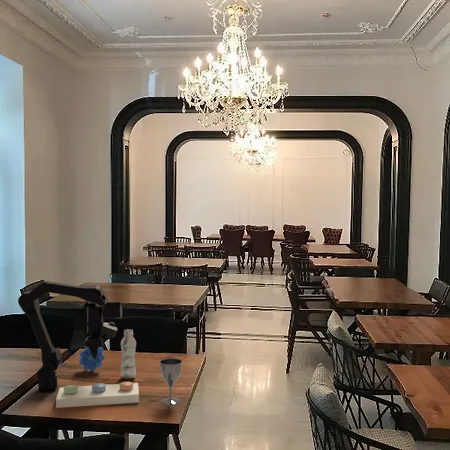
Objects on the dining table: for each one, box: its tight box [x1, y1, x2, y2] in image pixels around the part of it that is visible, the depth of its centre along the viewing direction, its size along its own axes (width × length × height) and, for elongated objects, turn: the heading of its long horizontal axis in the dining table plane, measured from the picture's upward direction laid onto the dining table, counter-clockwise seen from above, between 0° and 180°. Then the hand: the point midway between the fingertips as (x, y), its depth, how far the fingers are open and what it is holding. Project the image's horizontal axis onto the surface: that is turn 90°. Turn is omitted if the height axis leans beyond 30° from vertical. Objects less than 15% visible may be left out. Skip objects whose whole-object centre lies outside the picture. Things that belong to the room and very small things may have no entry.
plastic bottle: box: [120, 328, 137, 380], centre depth 211 cm, size 6×7×20 cm
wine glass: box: [159, 357, 183, 406], centre depth 187 cm, size 8×8×15 cm
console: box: [55, 382, 140, 409], centre depth 189 cm, size 29×12×3 cm, turn 101°
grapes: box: [78, 346, 106, 372], centre depth 220 cm, size 12×7×12 cm, turn 81°
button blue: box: [91, 382, 107, 392], centre depth 189 cm, size 5×5×4 cm
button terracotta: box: [119, 381, 134, 391], centre depth 191 cm, size 5×5×4 cm
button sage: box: [63, 384, 79, 394], centre depth 187 cm, size 5×5×4 cm
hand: (94, 358), depth 199 cm, fingers closed
